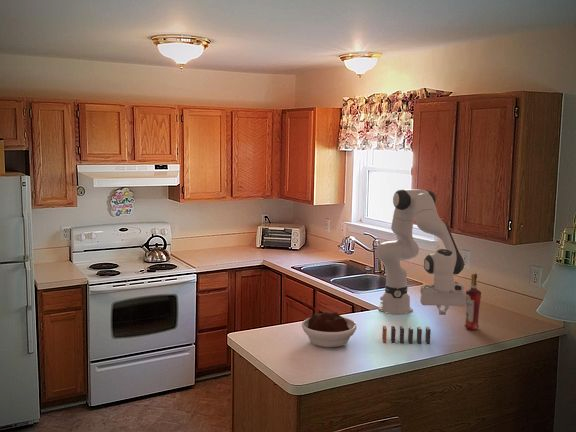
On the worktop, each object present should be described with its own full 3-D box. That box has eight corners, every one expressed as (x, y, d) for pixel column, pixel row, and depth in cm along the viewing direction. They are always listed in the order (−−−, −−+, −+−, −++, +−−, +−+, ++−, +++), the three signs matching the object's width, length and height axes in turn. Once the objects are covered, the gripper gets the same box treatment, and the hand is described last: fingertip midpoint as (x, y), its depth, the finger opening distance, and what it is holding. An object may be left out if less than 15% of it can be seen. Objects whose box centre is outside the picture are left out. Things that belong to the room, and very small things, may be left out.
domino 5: (416, 340, 277) (417, 326, 276) (419, 341, 277) (420, 326, 276) (418, 344, 273) (418, 329, 272) (421, 344, 273) (421, 329, 272)
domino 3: (399, 340, 277) (399, 326, 276) (402, 340, 277) (403, 326, 276) (400, 343, 273) (401, 329, 272) (403, 343, 273) (404, 329, 272)
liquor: (460, 327, 298) (463, 272, 294) (472, 325, 300) (475, 271, 296) (470, 331, 291) (473, 276, 287) (482, 330, 293) (485, 274, 290)
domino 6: (425, 341, 277) (425, 326, 276) (428, 341, 277) (428, 326, 276) (426, 344, 273) (427, 329, 272) (430, 344, 273) (430, 329, 272)
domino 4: (408, 340, 277) (408, 326, 276) (411, 340, 277) (411, 326, 276) (409, 343, 273) (410, 329, 272) (412, 343, 273) (413, 329, 272)
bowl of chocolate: (322, 330, 290) (323, 301, 288) (366, 342, 274) (367, 311, 272) (290, 344, 271) (291, 312, 269) (335, 357, 255) (336, 324, 253)
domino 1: (382, 340, 278) (382, 325, 277) (385, 340, 278) (385, 325, 277) (383, 343, 274) (383, 328, 273) (386, 343, 274) (386, 328, 273)
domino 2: (390, 340, 278) (391, 326, 277) (393, 340, 278) (394, 326, 277) (392, 343, 273) (392, 328, 272) (395, 343, 273) (395, 329, 272)
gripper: (421, 286, 268) (420, 316, 270) (467, 287, 267) (466, 316, 269) (419, 283, 274) (418, 312, 276) (463, 283, 273) (462, 312, 275)
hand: (442, 314), depth 272 cm, fingers closed
